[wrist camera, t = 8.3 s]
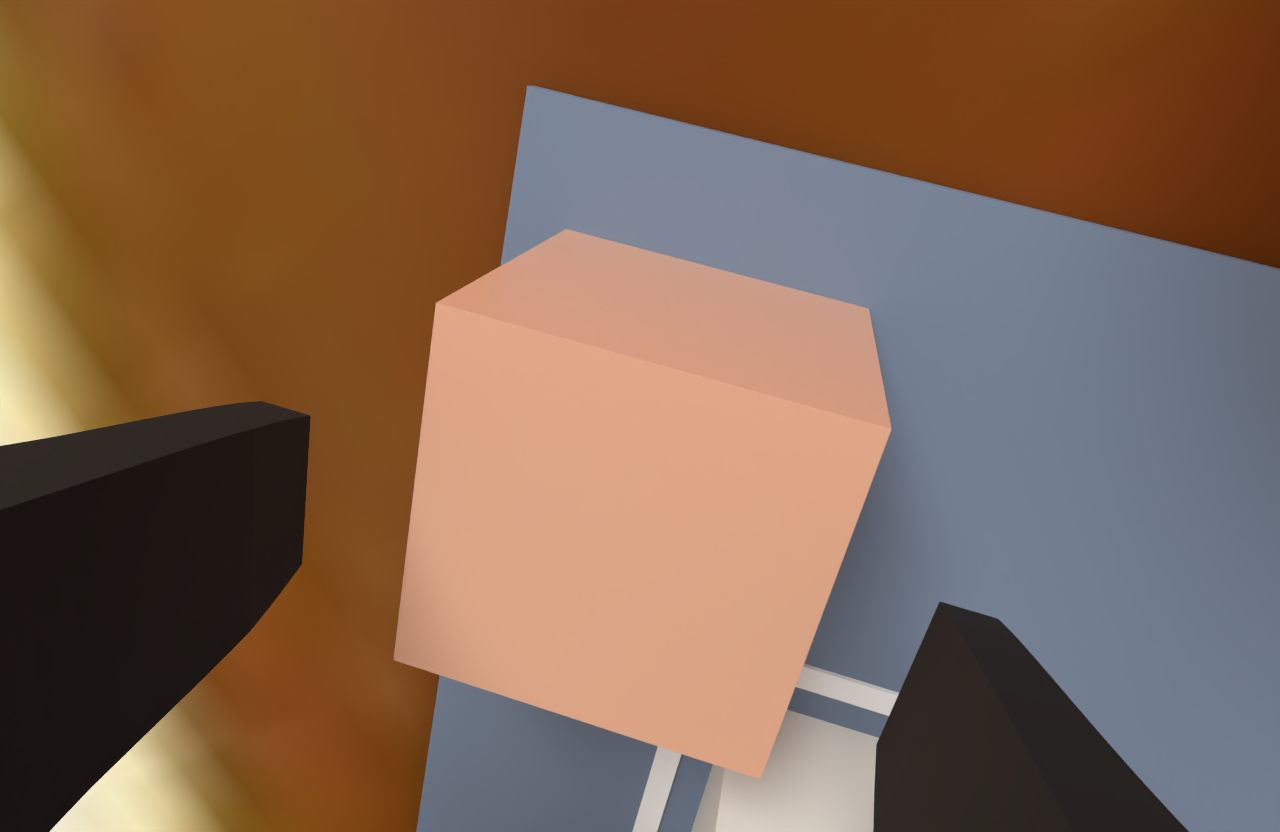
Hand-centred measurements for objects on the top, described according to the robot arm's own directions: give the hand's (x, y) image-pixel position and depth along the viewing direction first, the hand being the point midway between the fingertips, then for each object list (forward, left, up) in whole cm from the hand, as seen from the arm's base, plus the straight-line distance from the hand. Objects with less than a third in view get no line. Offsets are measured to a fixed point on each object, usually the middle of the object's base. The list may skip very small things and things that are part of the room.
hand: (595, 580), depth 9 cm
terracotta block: (0, 0, -6) cm, 6 cm away
